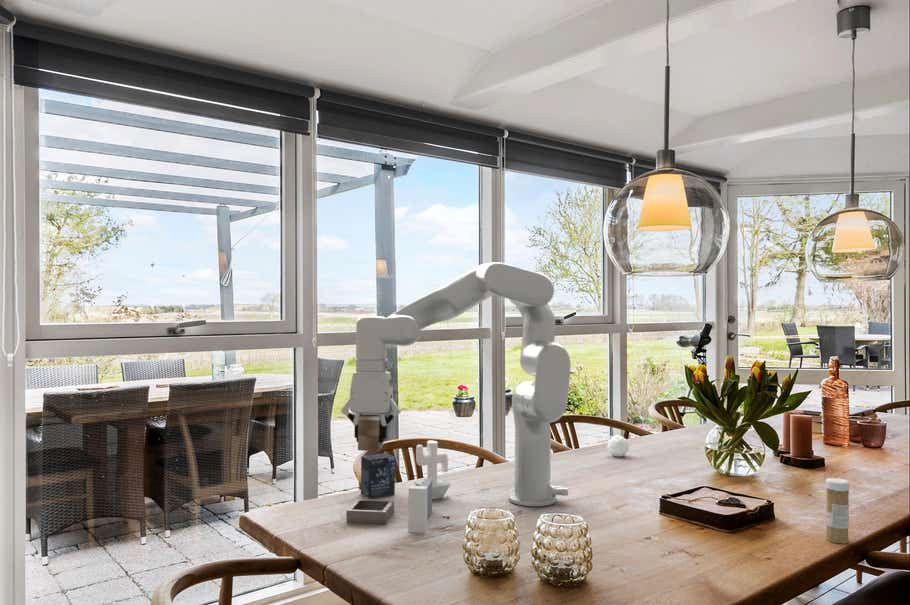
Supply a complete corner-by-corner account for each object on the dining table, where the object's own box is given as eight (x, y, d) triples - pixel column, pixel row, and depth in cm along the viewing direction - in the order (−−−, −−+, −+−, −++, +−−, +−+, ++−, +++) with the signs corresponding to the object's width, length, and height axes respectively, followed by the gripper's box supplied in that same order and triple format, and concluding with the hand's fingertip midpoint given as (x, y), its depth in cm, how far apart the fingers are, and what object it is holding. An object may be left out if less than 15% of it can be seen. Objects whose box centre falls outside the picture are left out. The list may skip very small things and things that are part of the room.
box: (369, 499, 181) (369, 459, 181) (360, 494, 185) (360, 455, 185) (395, 494, 185) (395, 456, 185) (385, 490, 190) (386, 452, 190)
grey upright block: (436, 511, 170) (436, 471, 170) (425, 532, 154) (425, 488, 154) (420, 510, 171) (420, 471, 171) (408, 532, 155) (408, 488, 155)
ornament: (625, 459, 228) (610, 440, 229) (612, 462, 234) (598, 443, 235) (637, 446, 232) (622, 427, 232) (624, 450, 238) (610, 432, 239)
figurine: (453, 497, 183) (454, 441, 183) (423, 502, 178) (423, 445, 178) (440, 490, 189) (440, 437, 189) (410, 495, 184) (410, 440, 184)
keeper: (394, 512, 169) (394, 500, 169) (385, 524, 160) (385, 512, 160) (356, 511, 170) (357, 499, 170) (346, 523, 161) (346, 510, 161)
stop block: (383, 446, 167) (383, 413, 167) (378, 451, 162) (378, 417, 162) (362, 445, 168) (363, 413, 168) (357, 450, 163) (357, 416, 163)
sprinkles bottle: (825, 536, 153) (825, 476, 153) (848, 539, 151) (848, 478, 151) (826, 542, 149) (826, 481, 149) (850, 545, 147) (850, 483, 147)
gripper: (408, 365, 168) (408, 439, 168) (341, 364, 170) (341, 437, 170) (402, 368, 160) (402, 445, 160) (332, 367, 162) (332, 443, 162)
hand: (370, 440), depth 165 cm, fingers closed on stop block, 5 cm apart
